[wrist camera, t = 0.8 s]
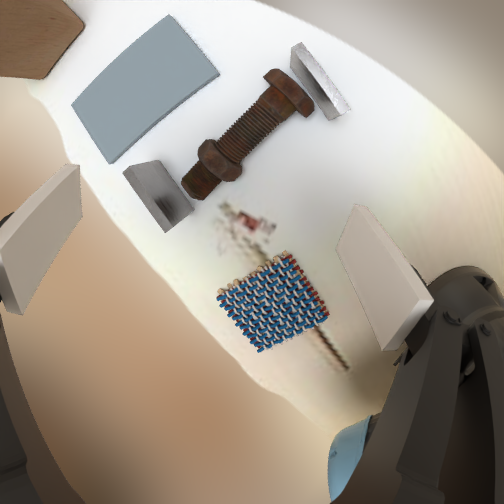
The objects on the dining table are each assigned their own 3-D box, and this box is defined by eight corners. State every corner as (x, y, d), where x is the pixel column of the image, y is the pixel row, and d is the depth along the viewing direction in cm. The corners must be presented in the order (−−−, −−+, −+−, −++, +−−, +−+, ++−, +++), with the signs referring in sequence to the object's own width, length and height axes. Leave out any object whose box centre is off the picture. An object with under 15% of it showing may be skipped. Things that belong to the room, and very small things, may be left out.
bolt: (196, 180, 34) (290, 87, 29) (218, 212, 33) (321, 114, 27) (161, 169, 29) (267, 58, 24) (183, 204, 28) (302, 85, 22)
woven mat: (332, 312, 37) (334, 321, 35) (261, 347, 40) (260, 357, 38) (288, 245, 34) (289, 252, 32) (214, 289, 37) (211, 297, 35)
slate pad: (220, 74, 28) (218, 72, 27) (113, 163, 32) (108, 164, 31) (172, 17, 25) (169, 14, 24) (75, 105, 30) (71, 105, 29)
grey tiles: (336, 116, 28) (350, 109, 22) (187, 214, 34) (165, 233, 27) (297, 62, 27) (301, 42, 20) (152, 165, 32) (122, 172, 25)
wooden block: (88, 26, 26) (-26, -12, 7) (43, 83, 29) (-74, 81, 10) (61, -3, 24) (-36, -36, 5) (21, 49, 27) (-80, 41, 8)
